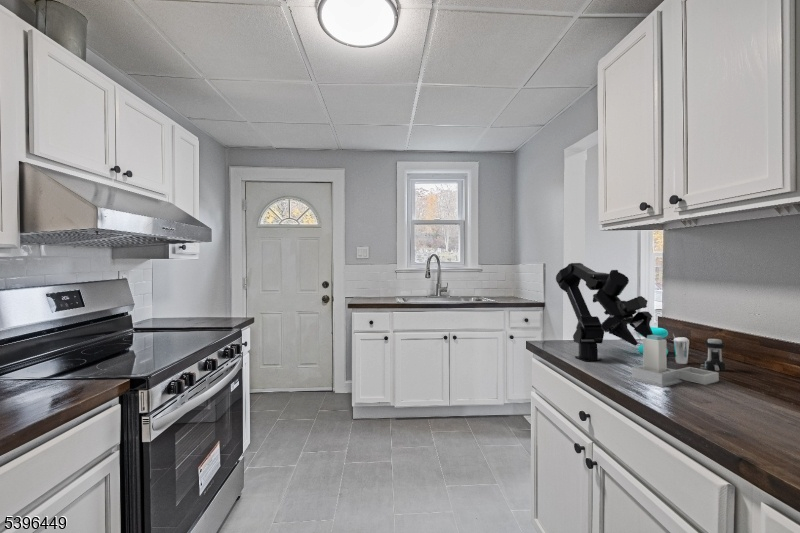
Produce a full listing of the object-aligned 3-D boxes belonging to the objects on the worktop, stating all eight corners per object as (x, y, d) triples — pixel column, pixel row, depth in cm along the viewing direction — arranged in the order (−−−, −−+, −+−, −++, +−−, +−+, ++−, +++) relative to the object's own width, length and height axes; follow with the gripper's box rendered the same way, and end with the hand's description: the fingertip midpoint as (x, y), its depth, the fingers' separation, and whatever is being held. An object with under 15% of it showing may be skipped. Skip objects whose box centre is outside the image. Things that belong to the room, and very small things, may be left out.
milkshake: (677, 360, 144) (677, 333, 144) (692, 364, 139) (692, 335, 139) (668, 361, 143) (668, 333, 143) (683, 365, 138) (683, 336, 138)
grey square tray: (675, 377, 123) (675, 369, 123) (689, 374, 126) (689, 366, 126) (705, 384, 116) (705, 376, 116) (718, 381, 119) (718, 372, 119)
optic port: (628, 378, 123) (628, 367, 123) (648, 374, 127) (647, 363, 127) (662, 387, 114) (662, 375, 114) (682, 382, 118) (682, 370, 118)
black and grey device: (704, 371, 130) (704, 340, 130) (696, 367, 135) (696, 337, 135) (728, 372, 128) (728, 341, 128) (720, 368, 133) (719, 338, 133)
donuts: (660, 326, 159) (673, 330, 150) (660, 351, 160) (673, 357, 150) (633, 326, 161) (644, 330, 151) (633, 350, 161) (645, 356, 151)
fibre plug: (643, 377, 121) (643, 335, 121) (651, 376, 123) (651, 334, 123) (658, 381, 117) (658, 337, 117) (666, 379, 119) (666, 336, 119)
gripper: (610, 289, 123) (646, 330, 113) (646, 286, 132) (682, 324, 122) (587, 311, 130) (620, 352, 120) (623, 308, 139) (656, 345, 129)
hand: (645, 343), depth 123 cm, fingers open, 9 cm apart
